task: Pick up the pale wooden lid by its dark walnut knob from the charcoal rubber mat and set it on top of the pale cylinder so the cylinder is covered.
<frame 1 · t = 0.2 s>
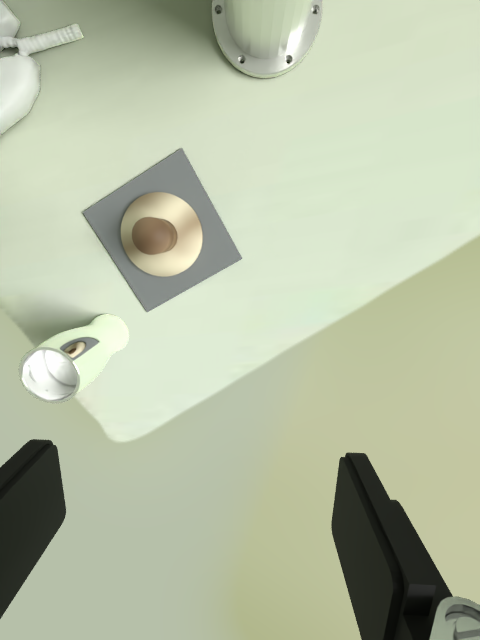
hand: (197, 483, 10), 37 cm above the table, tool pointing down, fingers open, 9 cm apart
mat: (163, 235, 44), on the table
lid: (163, 235, 43), resting on mat
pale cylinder: (110, 332, 48), on the table
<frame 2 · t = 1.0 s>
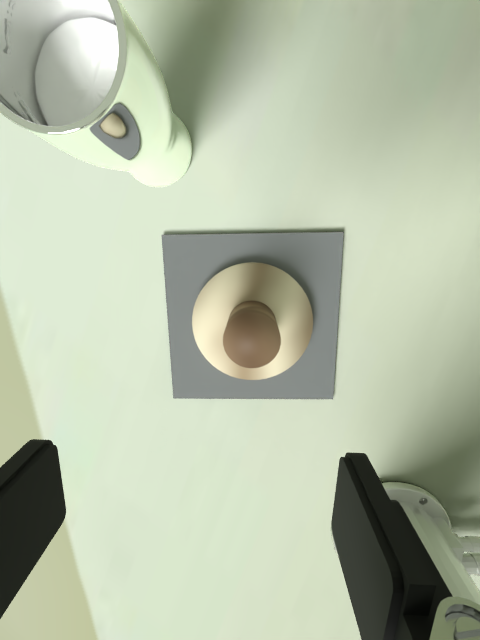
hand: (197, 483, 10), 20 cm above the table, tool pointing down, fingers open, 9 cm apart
mat: (252, 320, 30), on the table
lid: (252, 321, 30), resting on mat
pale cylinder: (157, 150, 27), on the table
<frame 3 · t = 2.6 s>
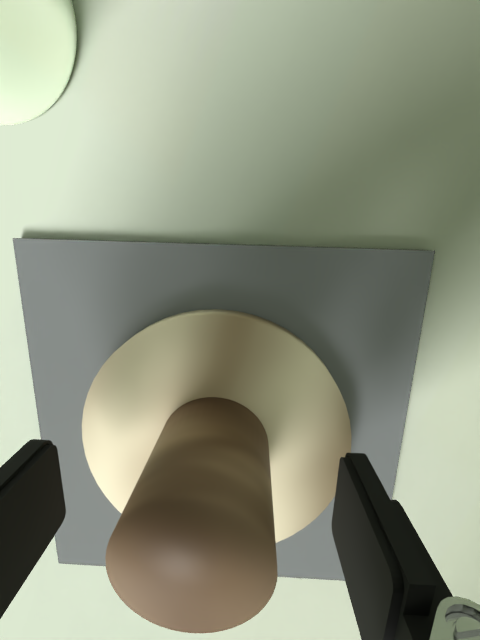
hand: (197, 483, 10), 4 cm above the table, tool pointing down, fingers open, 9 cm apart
mat: (218, 426, 14), on the table
lid: (217, 431, 14), resting on mat
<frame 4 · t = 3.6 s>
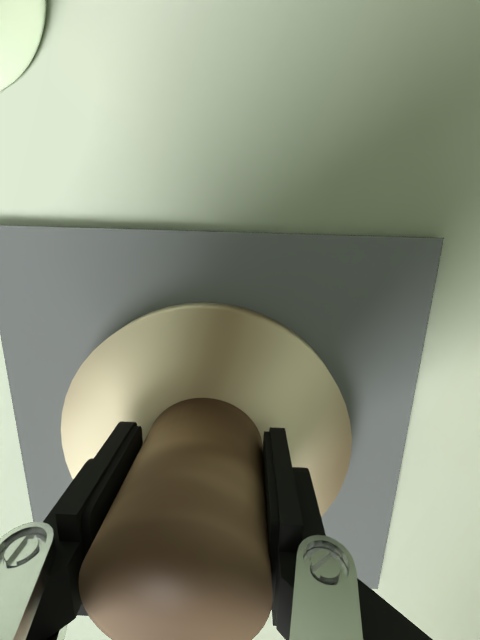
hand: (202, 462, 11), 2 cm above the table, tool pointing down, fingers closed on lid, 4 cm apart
mat: (209, 427, 13), on the table
lid: (208, 433, 13), resting on mat, touching gripper
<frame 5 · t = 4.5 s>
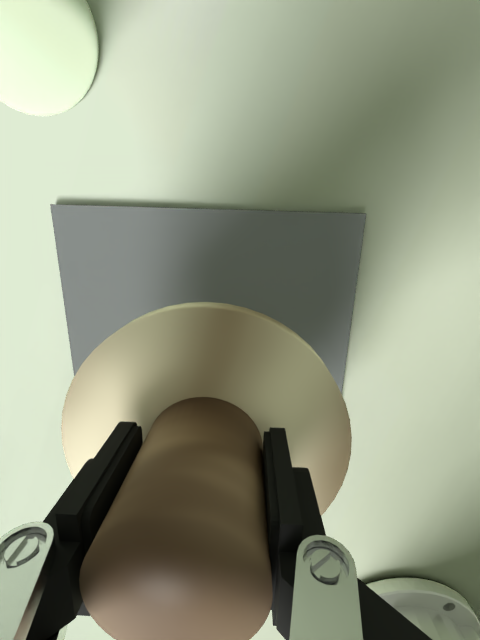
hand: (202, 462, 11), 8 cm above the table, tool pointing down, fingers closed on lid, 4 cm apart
mat: (209, 352, 19), on the table
lid: (208, 433, 13), point 6 cm above the table, touching gripper
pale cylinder: (35, 43, 14), on the table
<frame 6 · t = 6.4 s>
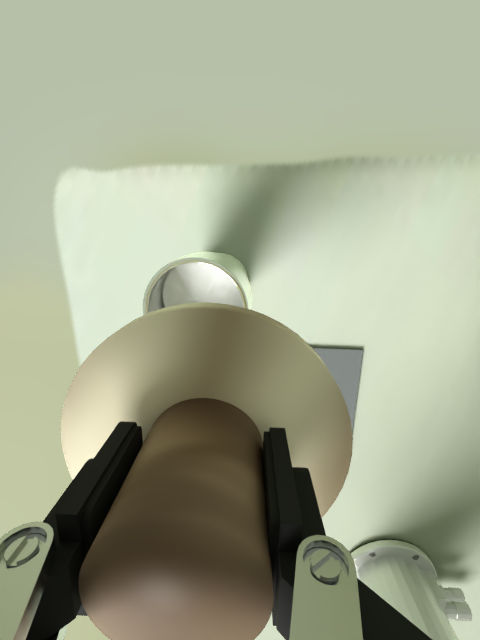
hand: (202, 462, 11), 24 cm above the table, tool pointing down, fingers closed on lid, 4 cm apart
mat: (285, 410, 37), on the table
lid: (208, 434, 13), point 22 cm above the table, touching gripper
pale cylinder: (219, 281, 34), on the table
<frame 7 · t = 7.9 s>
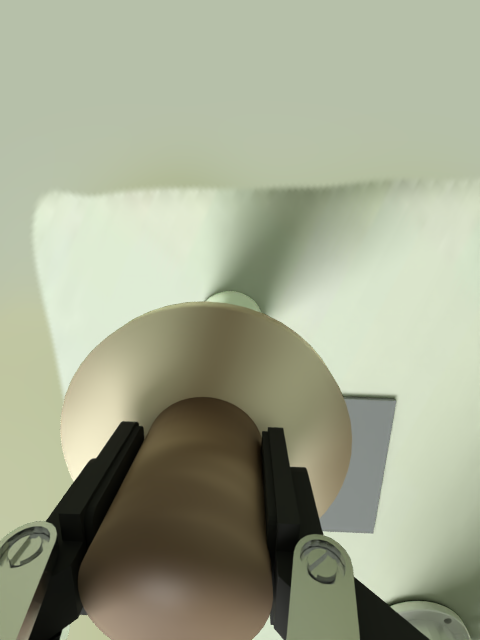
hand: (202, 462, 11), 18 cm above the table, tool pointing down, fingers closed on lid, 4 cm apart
mat: (304, 465, 33), on the table
lid: (208, 433, 13), point 17 cm above the table, touching gripper
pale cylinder: (230, 322, 29), on the table
when the fingers open (18 cm above the table, at t = 8.0 s): lid drops 2 cm, resting on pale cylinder.
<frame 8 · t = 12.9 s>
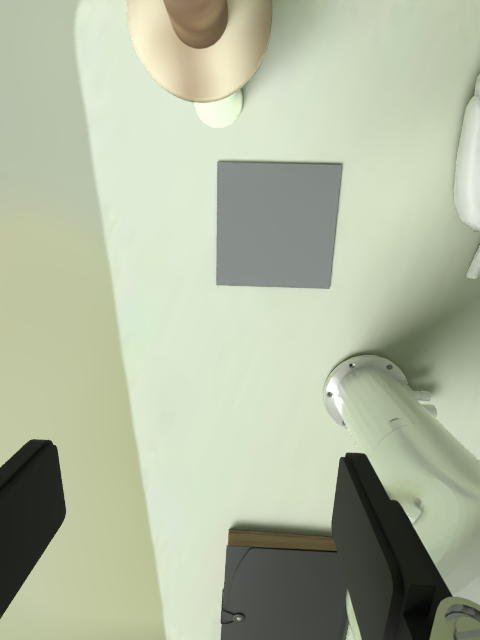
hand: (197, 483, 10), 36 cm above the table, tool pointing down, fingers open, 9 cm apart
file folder: (284, 596, 61), on the table
mat: (275, 228, 43), on the table
lid: (201, 23, 25), point 15 cm above the table, touching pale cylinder
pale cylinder: (218, 101, 39), on the table, touching lid
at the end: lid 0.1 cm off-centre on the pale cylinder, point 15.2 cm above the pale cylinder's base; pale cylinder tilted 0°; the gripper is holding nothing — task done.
